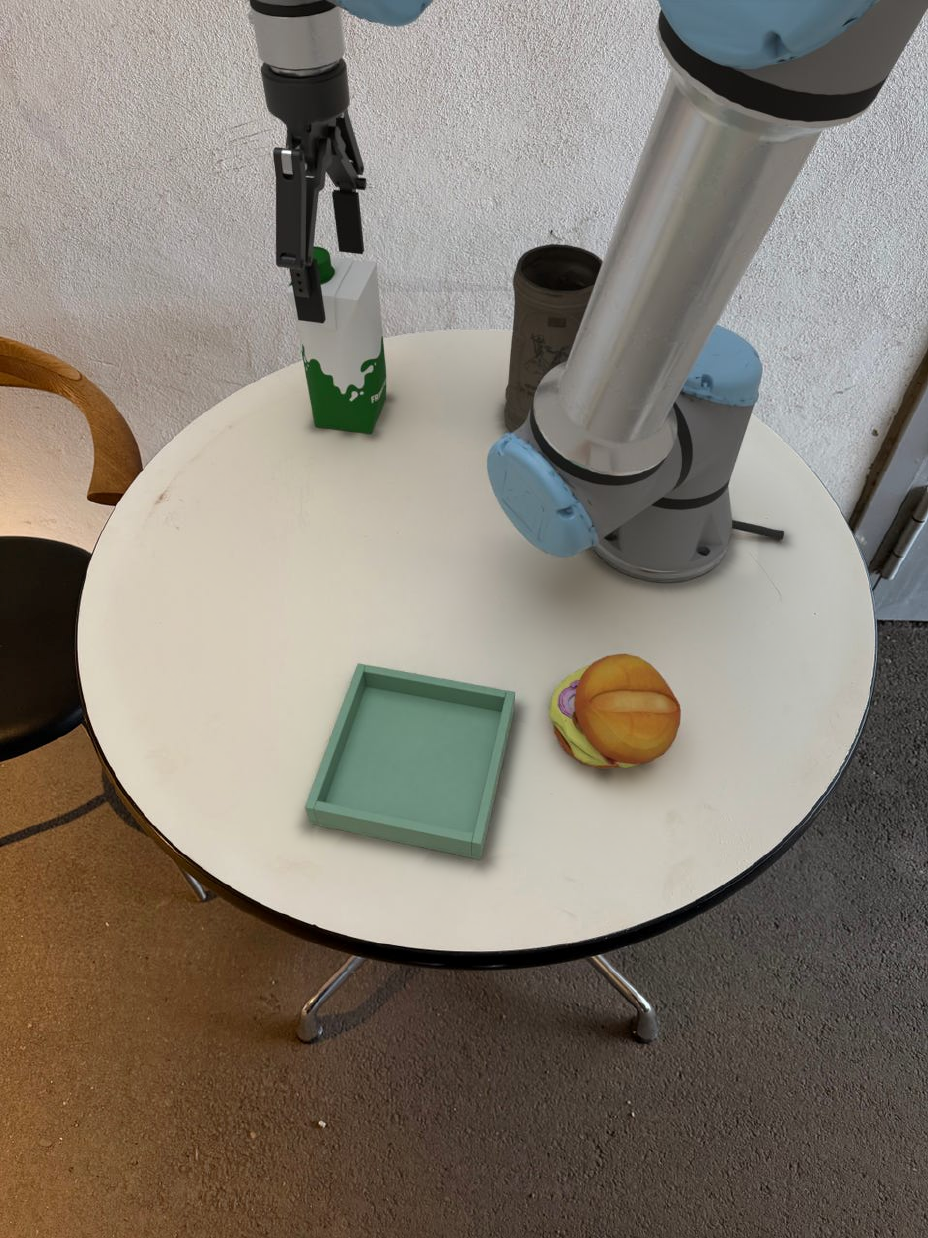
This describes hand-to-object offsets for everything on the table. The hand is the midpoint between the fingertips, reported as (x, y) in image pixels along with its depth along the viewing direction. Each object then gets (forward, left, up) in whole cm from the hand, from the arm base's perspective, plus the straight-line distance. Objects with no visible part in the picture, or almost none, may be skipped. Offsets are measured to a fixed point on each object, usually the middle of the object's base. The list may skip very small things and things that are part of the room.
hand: (332, 284), depth 91 cm
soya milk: (0, 0, -17) cm, 17 cm away
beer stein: (-26, -4, -17) cm, 31 cm away
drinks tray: (-20, +45, -17) cm, 52 cm away
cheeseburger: (-36, +38, -17) cm, 55 cm away
